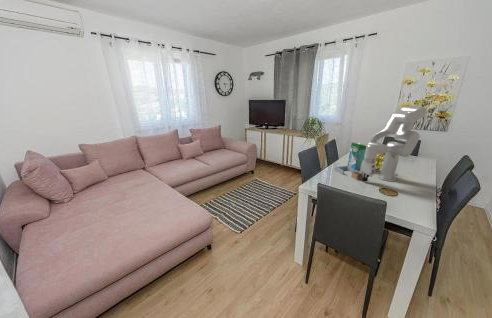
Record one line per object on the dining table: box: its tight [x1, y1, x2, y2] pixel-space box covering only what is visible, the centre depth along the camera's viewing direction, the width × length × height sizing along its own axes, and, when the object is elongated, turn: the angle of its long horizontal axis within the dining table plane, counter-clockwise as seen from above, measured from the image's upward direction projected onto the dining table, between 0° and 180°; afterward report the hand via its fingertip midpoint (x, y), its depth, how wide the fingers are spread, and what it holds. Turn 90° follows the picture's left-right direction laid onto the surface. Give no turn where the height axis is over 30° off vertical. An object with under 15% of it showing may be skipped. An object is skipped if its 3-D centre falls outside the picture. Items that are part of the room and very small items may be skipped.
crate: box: [350, 170, 363, 181], centre depth 166 cm, size 6×6×5 cm
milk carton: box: [347, 142, 367, 171], centre depth 185 cm, size 9×9×25 cm
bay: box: [334, 165, 356, 175], centre depth 180 cm, size 13×10×4 cm
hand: (364, 181), depth 159 cm, fingers closed
